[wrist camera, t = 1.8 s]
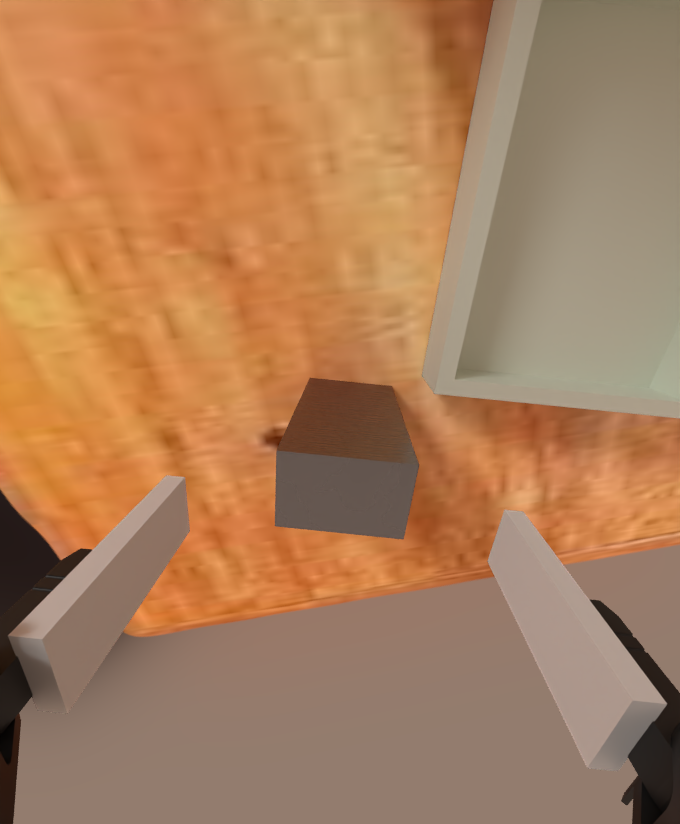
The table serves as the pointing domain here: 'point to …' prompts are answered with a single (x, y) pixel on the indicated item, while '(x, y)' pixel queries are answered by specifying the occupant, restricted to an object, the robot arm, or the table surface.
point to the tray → (568, 214)
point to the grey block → (346, 462)
